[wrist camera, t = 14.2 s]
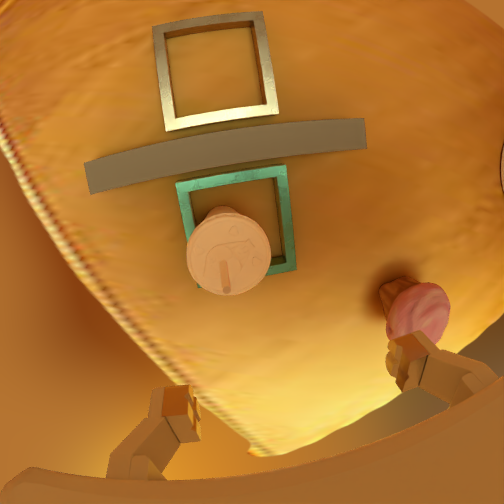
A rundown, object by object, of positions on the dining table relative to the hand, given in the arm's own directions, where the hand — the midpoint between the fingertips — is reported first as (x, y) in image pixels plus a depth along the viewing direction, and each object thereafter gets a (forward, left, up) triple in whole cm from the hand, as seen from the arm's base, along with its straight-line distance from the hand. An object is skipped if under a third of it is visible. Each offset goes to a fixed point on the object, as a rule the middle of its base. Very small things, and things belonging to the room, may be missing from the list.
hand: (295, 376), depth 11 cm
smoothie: (+2, 0, -22) cm, 22 cm away
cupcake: (-19, +13, -22) cm, 32 cm away
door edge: (0, -8, -22) cm, 24 cm away
